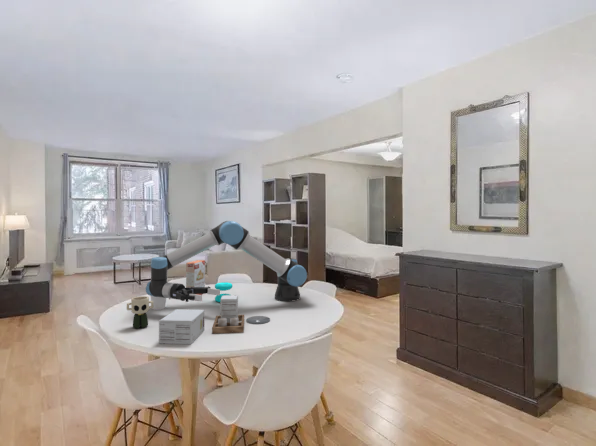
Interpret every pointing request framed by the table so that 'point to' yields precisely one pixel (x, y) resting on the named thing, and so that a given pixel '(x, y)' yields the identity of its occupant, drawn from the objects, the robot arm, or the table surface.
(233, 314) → the supplement box
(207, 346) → the table surface
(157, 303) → the foam cup
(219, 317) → the tray
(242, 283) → the table surface
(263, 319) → the coaster
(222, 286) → the donuts
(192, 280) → the cracker box
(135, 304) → the character mug
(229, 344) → the table surface
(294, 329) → the table surface
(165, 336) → the supplement box
